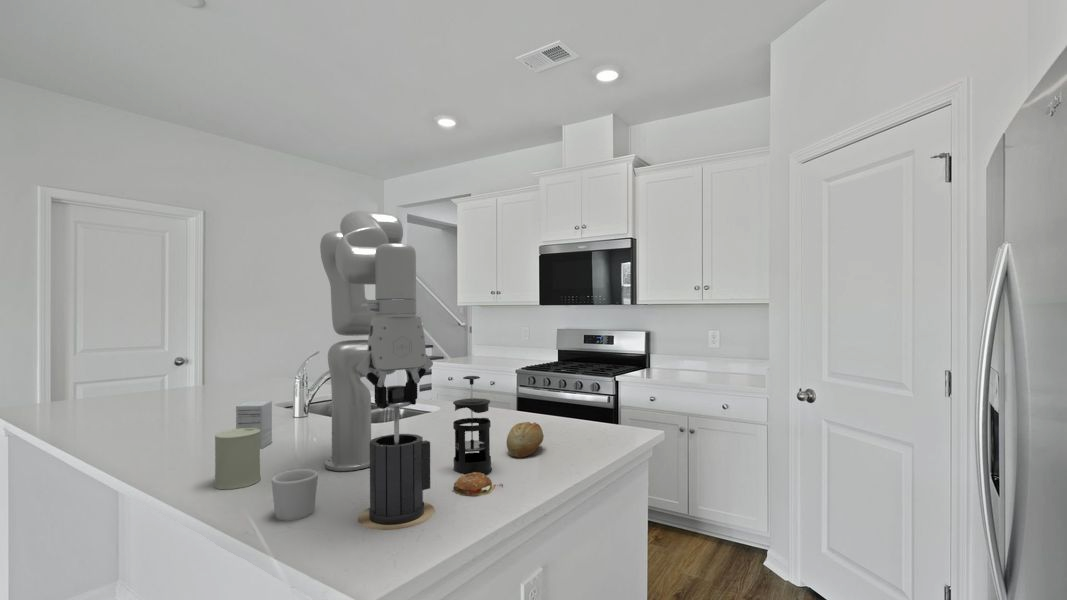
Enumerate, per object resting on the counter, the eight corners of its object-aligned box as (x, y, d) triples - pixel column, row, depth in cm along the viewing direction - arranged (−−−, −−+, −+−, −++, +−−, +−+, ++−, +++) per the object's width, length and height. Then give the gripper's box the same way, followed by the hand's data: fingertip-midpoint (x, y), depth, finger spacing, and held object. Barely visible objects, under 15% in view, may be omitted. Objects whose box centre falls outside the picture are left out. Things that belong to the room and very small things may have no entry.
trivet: (346, 516, 96) (346, 512, 96) (415, 498, 104) (415, 494, 104) (374, 542, 85) (374, 537, 85) (448, 519, 93) (448, 515, 93)
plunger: (375, 500, 95) (374, 386, 96) (405, 493, 99) (404, 383, 99) (387, 509, 90) (387, 390, 91) (418, 501, 94) (418, 386, 95)
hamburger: (506, 506, 101) (505, 476, 101) (438, 503, 103) (438, 473, 103) (518, 482, 115) (517, 456, 115) (458, 480, 117) (458, 454, 117)
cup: (287, 505, 102) (287, 465, 102) (328, 503, 103) (328, 463, 103) (263, 527, 91) (263, 483, 91) (309, 525, 92) (309, 481, 92)
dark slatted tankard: (361, 512, 95) (360, 439, 96) (417, 498, 103) (417, 429, 103) (381, 530, 88) (381, 450, 88) (440, 513, 95) (440, 439, 95)
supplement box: (246, 443, 151) (246, 401, 152) (272, 442, 152) (272, 400, 152) (235, 450, 144) (235, 405, 144) (262, 449, 145) (262, 404, 145)
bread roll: (548, 445, 145) (547, 417, 145) (537, 460, 131) (537, 429, 131) (515, 444, 147) (515, 416, 147) (501, 458, 133) (501, 428, 133)
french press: (476, 480, 115) (475, 379, 116) (443, 475, 119) (442, 377, 120) (502, 466, 126) (501, 373, 126) (470, 461, 130) (470, 372, 130)
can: (269, 478, 119) (269, 427, 119) (235, 491, 110) (235, 436, 110) (240, 474, 122) (240, 424, 122) (204, 487, 113) (204, 433, 113)
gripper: (357, 309, 87) (358, 414, 87) (445, 308, 98) (446, 402, 97) (343, 309, 93) (344, 408, 93) (428, 309, 104) (428, 398, 103)
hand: (396, 404), depth 95 cm, fingers closed on plunger, 5 cm apart
